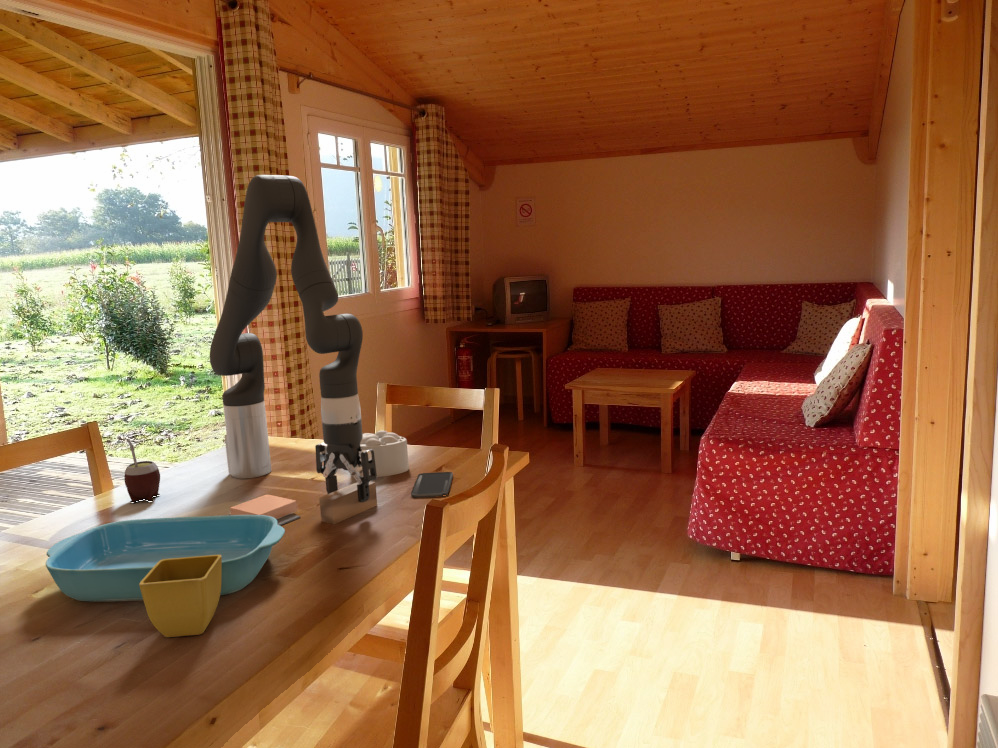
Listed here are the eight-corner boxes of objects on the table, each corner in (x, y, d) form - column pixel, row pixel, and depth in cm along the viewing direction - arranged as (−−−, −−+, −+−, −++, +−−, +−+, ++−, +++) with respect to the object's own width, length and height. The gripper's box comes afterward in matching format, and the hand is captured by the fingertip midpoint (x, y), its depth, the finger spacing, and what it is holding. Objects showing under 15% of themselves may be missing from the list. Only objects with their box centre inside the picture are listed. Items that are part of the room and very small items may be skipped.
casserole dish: (301, 546, 138) (297, 507, 137) (267, 603, 116) (262, 558, 115) (93, 557, 138) (87, 519, 136) (19, 617, 116) (12, 572, 114)
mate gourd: (153, 492, 173) (145, 427, 171) (170, 498, 168) (162, 431, 166) (119, 501, 168) (110, 434, 165) (136, 508, 163) (126, 439, 160)
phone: (410, 494, 161) (418, 473, 175) (410, 499, 161) (419, 477, 176) (448, 492, 160) (453, 471, 175) (448, 498, 161) (453, 476, 175)
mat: (219, 519, 153) (219, 518, 153) (254, 506, 160) (254, 505, 160) (265, 531, 145) (265, 530, 145) (300, 517, 152) (300, 516, 152)
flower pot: (167, 616, 113) (160, 558, 112) (229, 611, 114) (222, 553, 112) (146, 647, 105) (137, 584, 103) (212, 641, 105) (204, 578, 104)
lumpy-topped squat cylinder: (361, 464, 188) (358, 429, 187) (413, 463, 186) (410, 428, 185) (347, 477, 178) (344, 440, 176) (403, 476, 176) (400, 439, 175)
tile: (268, 504, 160) (231, 518, 153) (267, 494, 159) (230, 507, 152) (297, 511, 155) (260, 526, 148) (296, 500, 154) (259, 514, 147)
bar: (321, 522, 150) (319, 497, 149) (364, 503, 159) (362, 480, 159) (334, 525, 148) (332, 500, 147) (377, 505, 157) (375, 482, 157)
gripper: (301, 418, 151) (308, 498, 154) (353, 425, 143) (360, 509, 146) (330, 410, 157) (336, 487, 160) (381, 417, 149) (387, 497, 152)
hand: (348, 497), depth 153 cm, fingers open, 8 cm apart
